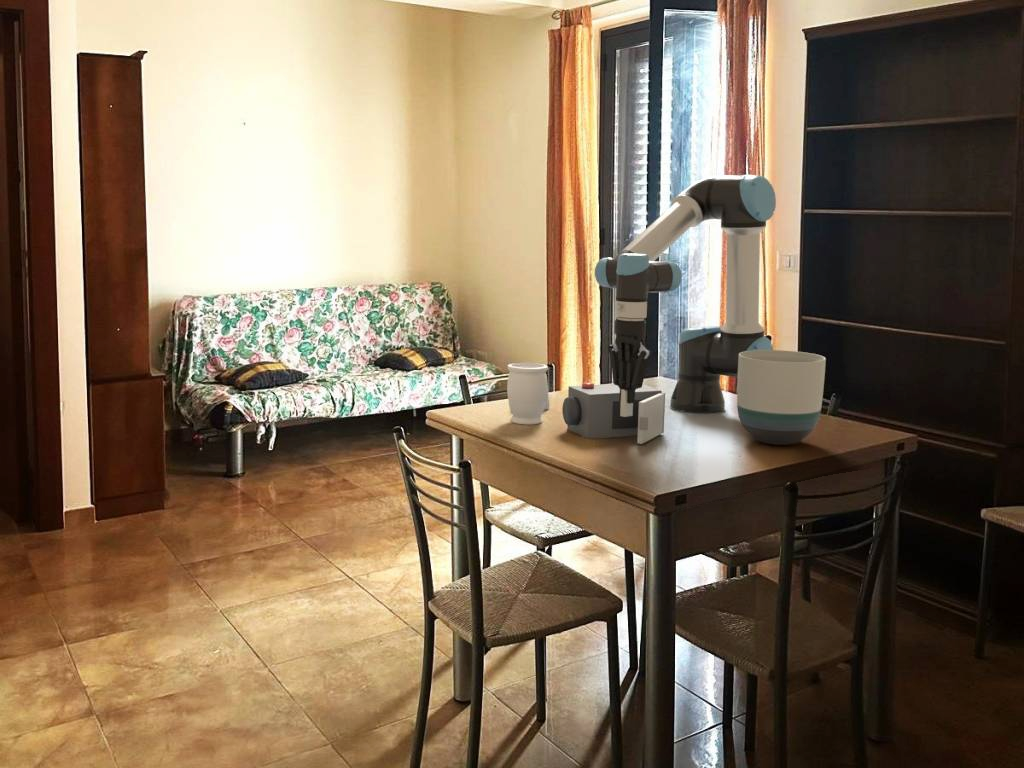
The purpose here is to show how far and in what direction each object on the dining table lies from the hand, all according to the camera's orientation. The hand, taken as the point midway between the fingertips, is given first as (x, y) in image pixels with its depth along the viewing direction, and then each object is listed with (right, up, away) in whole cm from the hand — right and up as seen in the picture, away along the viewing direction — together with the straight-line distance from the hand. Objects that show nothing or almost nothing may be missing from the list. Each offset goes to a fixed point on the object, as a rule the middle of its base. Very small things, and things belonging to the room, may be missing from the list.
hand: (626, 415), depth 260 cm
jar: (-24, -2, +21) cm, 32 cm away
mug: (-22, 0, +38) cm, 43 cm away
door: (+7, -6, +2) cm, 9 cm away
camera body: (-2, -4, +11) cm, 12 cm away
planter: (+37, -7, +2) cm, 38 cm away
